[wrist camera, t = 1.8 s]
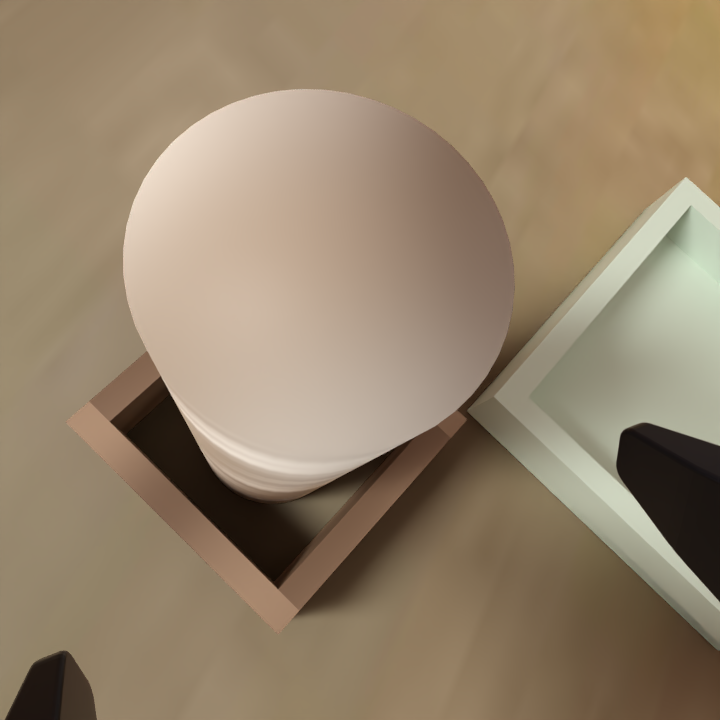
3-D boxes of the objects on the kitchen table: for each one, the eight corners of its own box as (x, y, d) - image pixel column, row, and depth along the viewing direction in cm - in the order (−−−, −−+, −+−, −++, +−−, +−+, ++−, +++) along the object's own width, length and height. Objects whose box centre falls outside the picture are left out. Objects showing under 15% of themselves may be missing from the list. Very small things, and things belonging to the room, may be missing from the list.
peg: (369, 432, 21) (584, 268, 8) (273, 534, 20) (336, 547, 6) (273, 339, 21) (323, 27, 8) (172, 434, 20) (30, 246, 7)
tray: (863, 409, 25) (929, 397, 22) (716, 649, 21) (776, 665, 19) (644, 209, 25) (686, 176, 23) (466, 410, 22) (493, 396, 20)
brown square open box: (442, 431, 22) (467, 419, 19) (273, 621, 19) (278, 634, 17) (273, 269, 22) (277, 238, 20) (87, 434, 20) (65, 421, 17)
